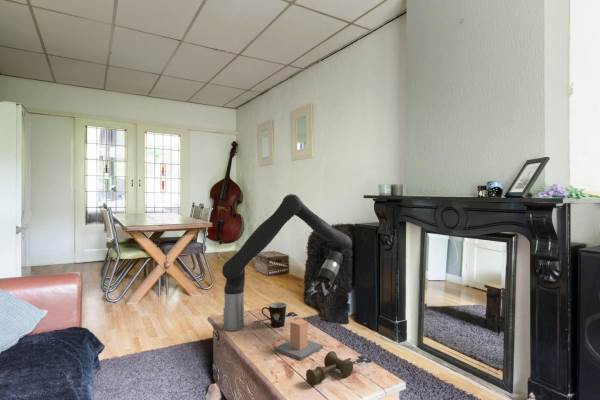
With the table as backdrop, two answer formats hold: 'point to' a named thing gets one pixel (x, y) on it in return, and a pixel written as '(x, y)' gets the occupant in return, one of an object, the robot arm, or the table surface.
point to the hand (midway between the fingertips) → (313, 302)
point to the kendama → (329, 368)
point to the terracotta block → (298, 334)
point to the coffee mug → (276, 314)
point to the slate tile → (297, 353)
